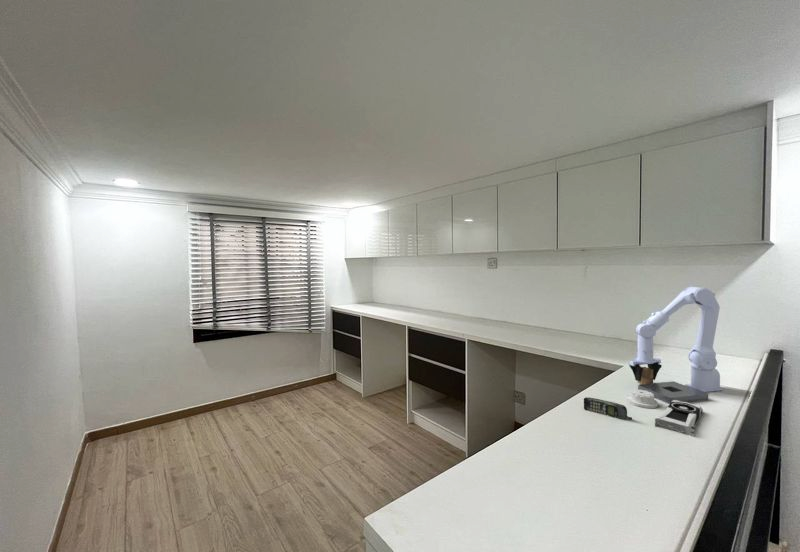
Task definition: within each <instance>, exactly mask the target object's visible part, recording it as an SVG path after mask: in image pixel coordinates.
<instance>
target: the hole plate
mask: <svg viewBox="0 0 800 552" xmlns="http://www.w3.org/2000/svg"><path fill="white" fill-rule="evenodd" d="M637 389H638V390H644V391H648V392H651V393H653V394H654V399H655V400H658V401H660V402H661V401H662V402H664V403H665V404H668V405H670V403H671V401H673V400H678V401H680V402H688V403H694V402H695V403H696V402H702V401H709V393H708V392H703V391H700V390H697V389H694V388H691V387H688V386H686V385H685V384H682V383H679V382H677V381H674V380H673V381H664V382H656V383H655V382H653V384H643V385H642V384H638V385H637Z"/></svg>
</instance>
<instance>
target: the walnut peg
mask: <svg viewBox="0 0 800 552" xmlns="http://www.w3.org/2000/svg"><path fill="white" fill-rule="evenodd" d="M642 367H643V368H644V369H643V371H642V375H641V381H637V383H638V384H639V385H643V384H653V383H654V380H653V369H650V368H648V366H642Z"/></svg>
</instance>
